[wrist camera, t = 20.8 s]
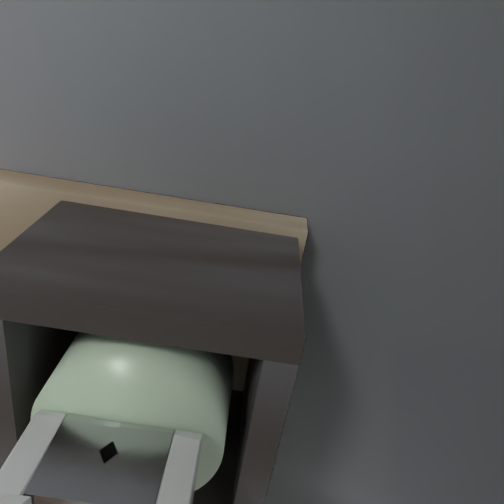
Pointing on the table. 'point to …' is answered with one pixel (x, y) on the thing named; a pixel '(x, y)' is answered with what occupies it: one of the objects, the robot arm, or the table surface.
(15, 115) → the table surface
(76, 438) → the robot arm
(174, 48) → the table surface
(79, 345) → the button
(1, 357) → the picture board
